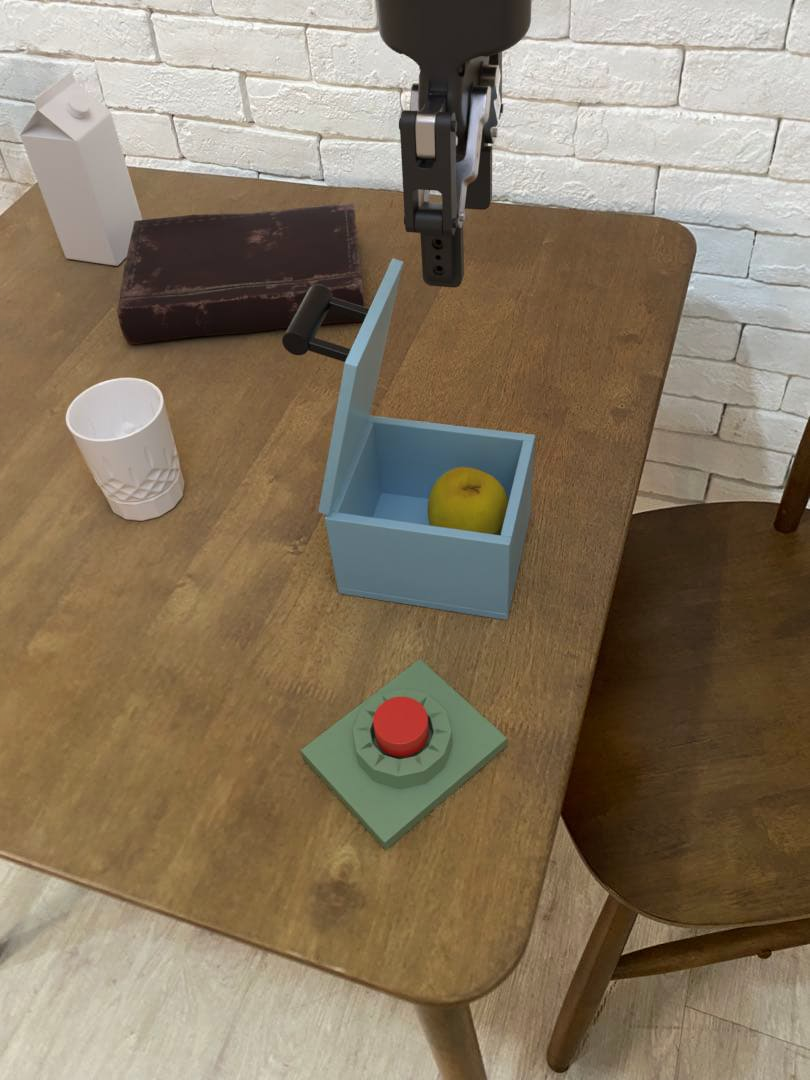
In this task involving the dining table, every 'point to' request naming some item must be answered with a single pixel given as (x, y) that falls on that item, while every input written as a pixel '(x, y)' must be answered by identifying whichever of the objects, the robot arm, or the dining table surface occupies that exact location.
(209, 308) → the diary
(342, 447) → the lid
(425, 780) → the green button base
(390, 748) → the button
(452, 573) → the box
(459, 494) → the apple
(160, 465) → the white cup
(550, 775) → the dining table surface
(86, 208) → the milk carton
